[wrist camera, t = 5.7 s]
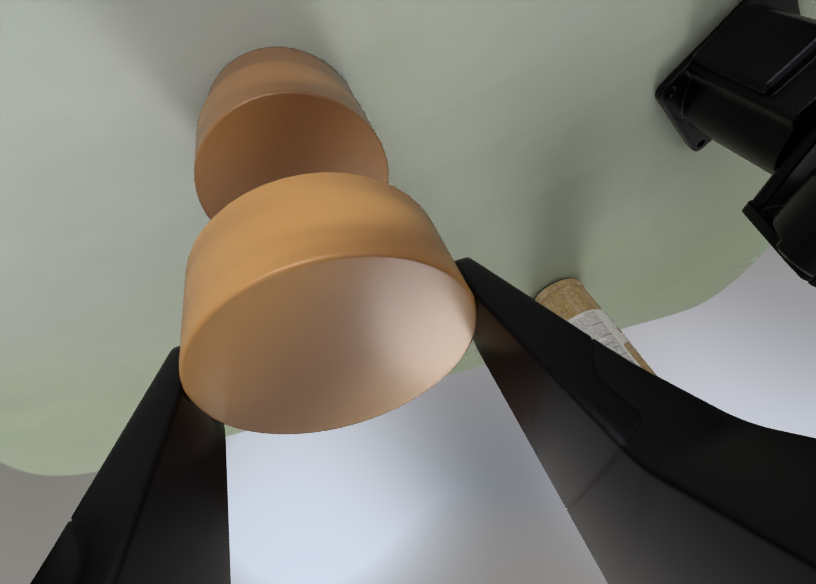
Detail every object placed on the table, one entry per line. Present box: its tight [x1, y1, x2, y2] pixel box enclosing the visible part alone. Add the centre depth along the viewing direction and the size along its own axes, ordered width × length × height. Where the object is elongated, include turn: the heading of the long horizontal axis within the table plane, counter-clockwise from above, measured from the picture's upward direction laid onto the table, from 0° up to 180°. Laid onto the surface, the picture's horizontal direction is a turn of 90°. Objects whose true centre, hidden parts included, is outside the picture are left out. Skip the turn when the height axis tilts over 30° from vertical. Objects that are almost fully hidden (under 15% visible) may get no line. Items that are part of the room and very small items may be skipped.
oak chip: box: [179, 172, 477, 434], centre depth 9 cm, size 6×6×2 cm
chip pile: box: [194, 47, 389, 220], centre depth 15 cm, size 6×6×5 cm
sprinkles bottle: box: [535, 278, 656, 375], centre depth 28 cm, size 5×5×14 cm
